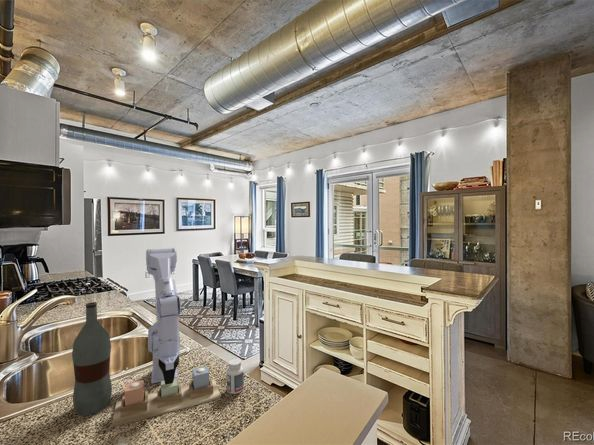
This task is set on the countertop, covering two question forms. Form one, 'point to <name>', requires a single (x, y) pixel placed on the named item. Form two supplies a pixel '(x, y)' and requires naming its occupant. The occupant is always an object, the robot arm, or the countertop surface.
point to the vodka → (91, 366)
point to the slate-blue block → (200, 377)
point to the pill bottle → (235, 377)
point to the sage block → (169, 388)
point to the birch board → (164, 402)
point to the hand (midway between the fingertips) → (169, 382)
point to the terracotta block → (134, 393)
